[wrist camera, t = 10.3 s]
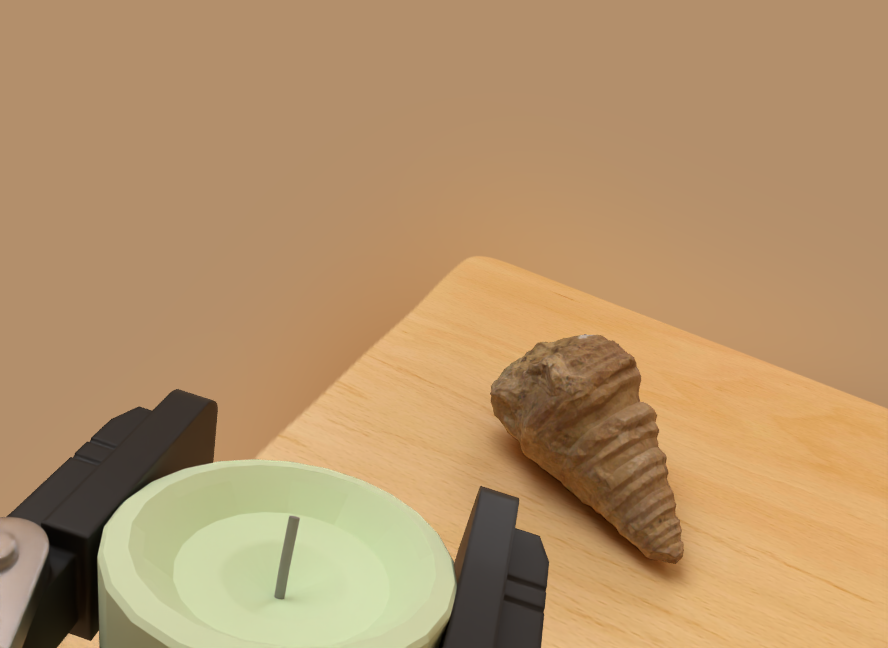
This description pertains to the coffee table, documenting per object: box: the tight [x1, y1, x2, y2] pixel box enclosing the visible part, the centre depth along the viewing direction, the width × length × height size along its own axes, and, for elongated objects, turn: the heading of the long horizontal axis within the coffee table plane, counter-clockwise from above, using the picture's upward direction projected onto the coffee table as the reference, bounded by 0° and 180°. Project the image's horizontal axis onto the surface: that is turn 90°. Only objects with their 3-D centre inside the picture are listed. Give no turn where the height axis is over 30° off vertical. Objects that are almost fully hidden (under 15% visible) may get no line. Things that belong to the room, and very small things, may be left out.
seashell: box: [490, 334, 684, 564], centre depth 37 cm, size 14×8×8 cm
